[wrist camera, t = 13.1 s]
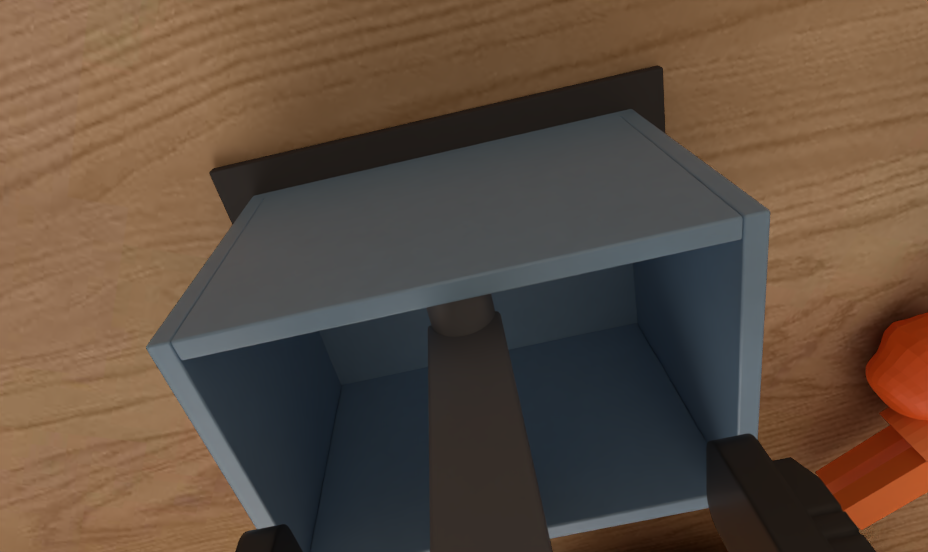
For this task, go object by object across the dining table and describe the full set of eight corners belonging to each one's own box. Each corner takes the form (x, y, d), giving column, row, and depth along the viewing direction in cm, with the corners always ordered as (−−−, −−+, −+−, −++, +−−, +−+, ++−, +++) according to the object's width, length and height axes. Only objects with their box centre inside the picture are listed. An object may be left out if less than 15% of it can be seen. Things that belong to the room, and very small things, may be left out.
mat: (318, 404, 23) (317, 411, 22) (212, 168, 18) (208, 172, 18) (669, 332, 22) (673, 337, 22) (658, 65, 17) (663, 67, 17)
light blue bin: (334, 387, 22) (239, 852, 11) (252, 195, 18) (-39, 604, 7) (646, 321, 21) (901, 739, 10) (632, 107, 17) (1024, 394, 6)
